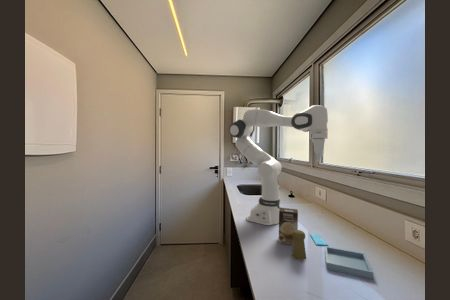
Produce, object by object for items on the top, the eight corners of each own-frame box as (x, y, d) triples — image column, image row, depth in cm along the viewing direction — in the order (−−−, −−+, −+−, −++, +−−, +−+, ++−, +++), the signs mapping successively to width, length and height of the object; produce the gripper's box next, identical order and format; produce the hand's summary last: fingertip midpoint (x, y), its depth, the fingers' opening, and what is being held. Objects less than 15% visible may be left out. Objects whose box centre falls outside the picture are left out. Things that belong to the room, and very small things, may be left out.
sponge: (320, 234, 107) (309, 232, 108) (329, 245, 95) (316, 243, 96) (320, 237, 107) (309, 235, 108) (328, 248, 95) (316, 246, 96)
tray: (326, 268, 78) (326, 262, 77) (324, 251, 90) (324, 246, 90) (373, 279, 71) (373, 272, 71) (364, 259, 84) (364, 253, 84)
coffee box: (278, 243, 98) (278, 210, 98) (279, 237, 104) (279, 207, 104) (297, 246, 95) (297, 212, 95) (297, 240, 101) (297, 208, 101)
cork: (289, 252, 89) (289, 228, 89) (302, 252, 90) (302, 228, 90) (295, 260, 83) (295, 234, 83) (309, 259, 84) (309, 234, 84)
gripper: (311, 136, 117) (311, 159, 117) (311, 134, 98) (311, 162, 98) (323, 136, 114) (323, 160, 115) (326, 134, 96) (325, 162, 96)
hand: (318, 161), depth 106 cm, fingers open, 8 cm apart
